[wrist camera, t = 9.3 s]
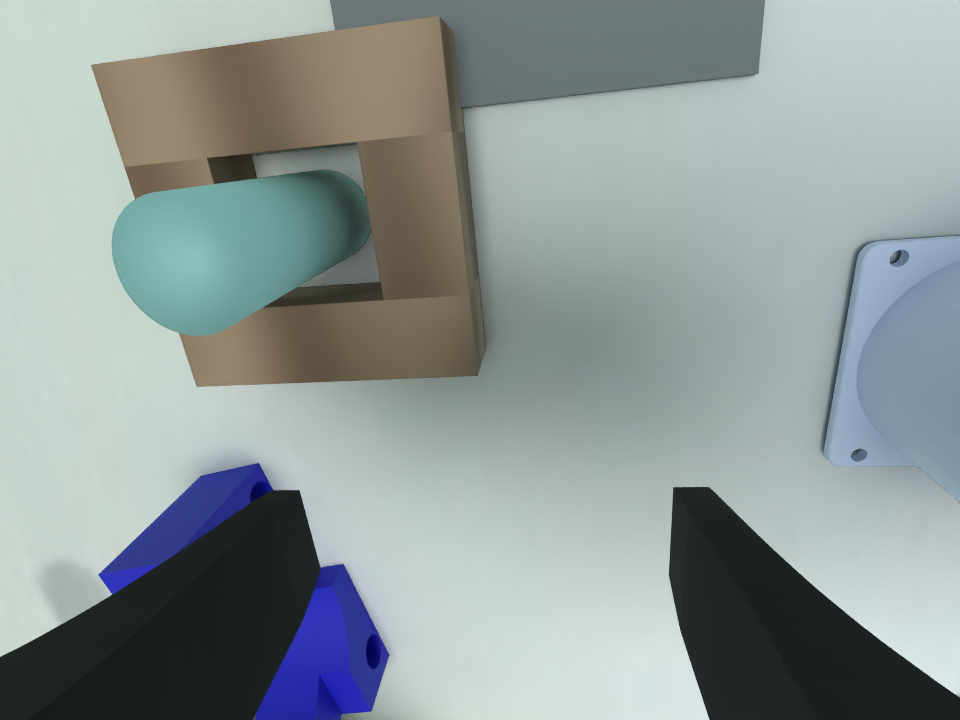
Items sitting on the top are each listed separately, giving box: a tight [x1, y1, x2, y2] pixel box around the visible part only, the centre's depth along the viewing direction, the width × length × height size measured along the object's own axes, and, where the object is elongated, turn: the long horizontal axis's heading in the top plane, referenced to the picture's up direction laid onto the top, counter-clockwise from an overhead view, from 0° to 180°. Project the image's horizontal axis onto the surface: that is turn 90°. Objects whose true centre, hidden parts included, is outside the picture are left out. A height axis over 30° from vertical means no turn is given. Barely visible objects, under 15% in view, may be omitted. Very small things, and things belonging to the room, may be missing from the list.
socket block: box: [91, 16, 486, 387], centre depth 17 cm, size 10×10×2 cm
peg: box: [112, 170, 371, 336], centre depth 15 cm, size 3×3×8 cm
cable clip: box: [99, 463, 389, 720], centre depth 22 cm, size 12×4×6 cm, turn 17°
